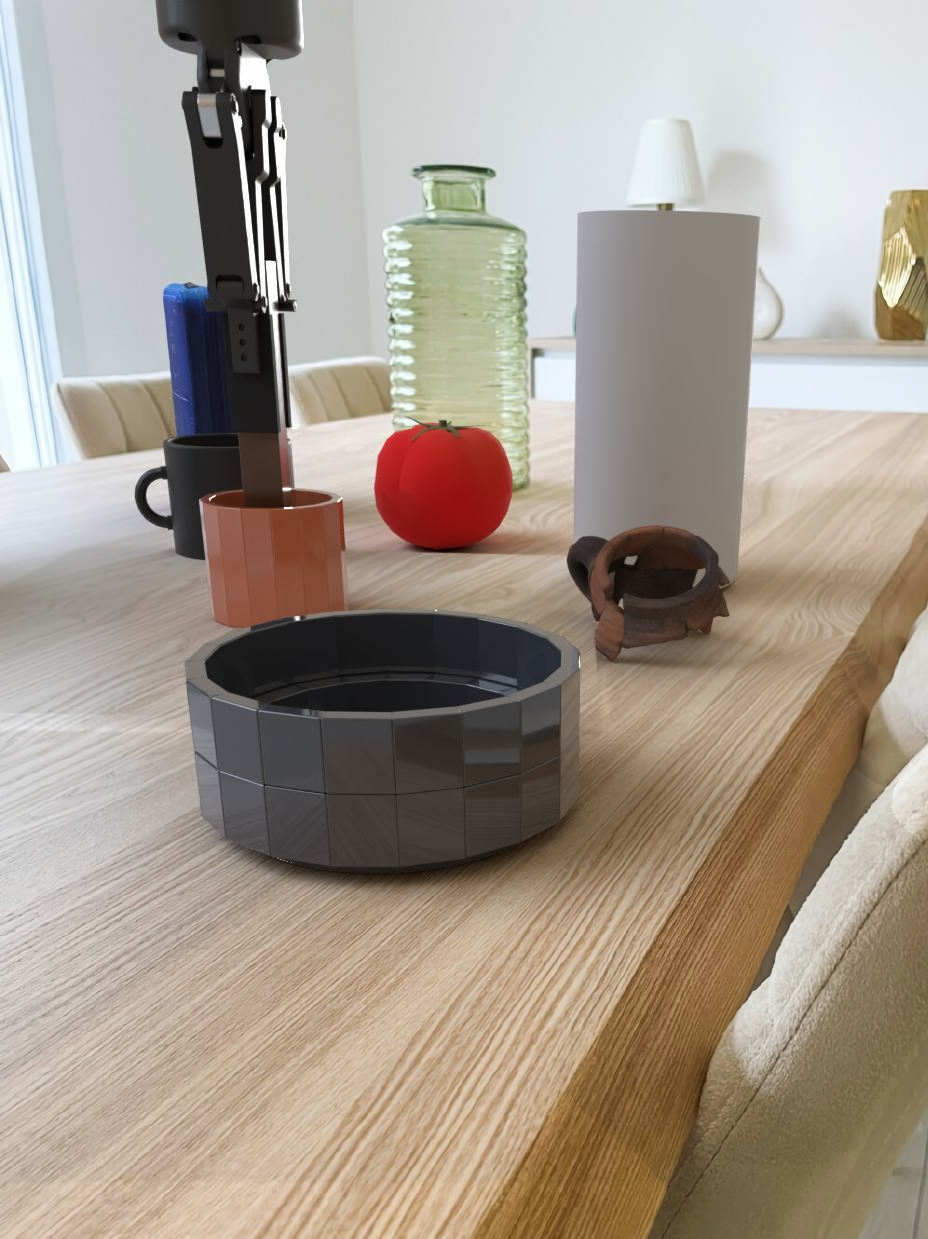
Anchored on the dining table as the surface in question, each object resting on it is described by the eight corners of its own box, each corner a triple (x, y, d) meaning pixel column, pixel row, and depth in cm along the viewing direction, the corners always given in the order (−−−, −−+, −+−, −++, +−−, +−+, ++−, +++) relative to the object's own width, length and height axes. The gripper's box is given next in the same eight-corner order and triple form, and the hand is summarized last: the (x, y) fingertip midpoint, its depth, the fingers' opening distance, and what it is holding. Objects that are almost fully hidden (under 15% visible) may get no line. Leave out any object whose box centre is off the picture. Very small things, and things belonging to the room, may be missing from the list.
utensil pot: (197, 641, 74) (182, 508, 70) (232, 607, 81) (220, 486, 78) (336, 643, 74) (327, 510, 71) (358, 610, 82) (351, 489, 78)
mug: (153, 547, 99) (138, 432, 95) (303, 545, 101) (295, 433, 97) (131, 572, 90) (115, 447, 87) (296, 569, 92) (286, 447, 89)
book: (177, 501, 120) (153, 281, 112) (233, 499, 122) (212, 282, 114) (198, 526, 108) (172, 282, 100) (259, 523, 110) (238, 283, 102)
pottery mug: (756, 645, 78) (764, 546, 71) (671, 738, 73) (670, 642, 67) (608, 571, 82) (602, 473, 76) (519, 655, 78) (504, 558, 71)
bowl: (150, 885, 44) (127, 715, 41) (253, 738, 58) (240, 605, 56) (579, 888, 44) (582, 721, 42) (576, 742, 59) (578, 611, 56)
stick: (252, 607, 76) (222, 258, 68) (261, 598, 78) (233, 259, 70) (291, 608, 76) (265, 260, 68) (298, 599, 78) (275, 261, 70)
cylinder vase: (765, 577, 94) (792, 220, 84) (684, 607, 84) (704, 209, 74) (629, 556, 100) (639, 221, 90) (540, 582, 91) (540, 211, 81)
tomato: (371, 533, 107) (365, 411, 102) (499, 530, 109) (498, 411, 105) (385, 561, 96) (378, 426, 92) (526, 557, 99) (526, 426, 95)
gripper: (264, -73, 57) (299, 446, 66) (325, -1, 71) (346, 418, 80) (102, -80, 56) (160, 442, 66) (196, -6, 71) (232, 415, 80)
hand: (262, 428), depth 73 cm, fingers closed on stick, 2 cm apart
